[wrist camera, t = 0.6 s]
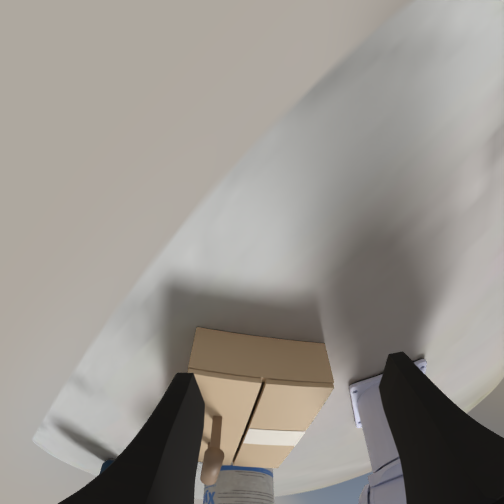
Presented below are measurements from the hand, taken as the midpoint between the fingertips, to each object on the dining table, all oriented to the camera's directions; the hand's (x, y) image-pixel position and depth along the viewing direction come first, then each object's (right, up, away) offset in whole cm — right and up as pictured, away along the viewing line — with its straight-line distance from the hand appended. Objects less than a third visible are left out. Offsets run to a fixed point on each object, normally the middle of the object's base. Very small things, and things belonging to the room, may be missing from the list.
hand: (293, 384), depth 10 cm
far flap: (-5, -10, +12) cm, 16 cm away
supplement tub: (-3, -26, +25) cm, 36 cm away
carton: (-2, -9, +16) cm, 18 cm away
